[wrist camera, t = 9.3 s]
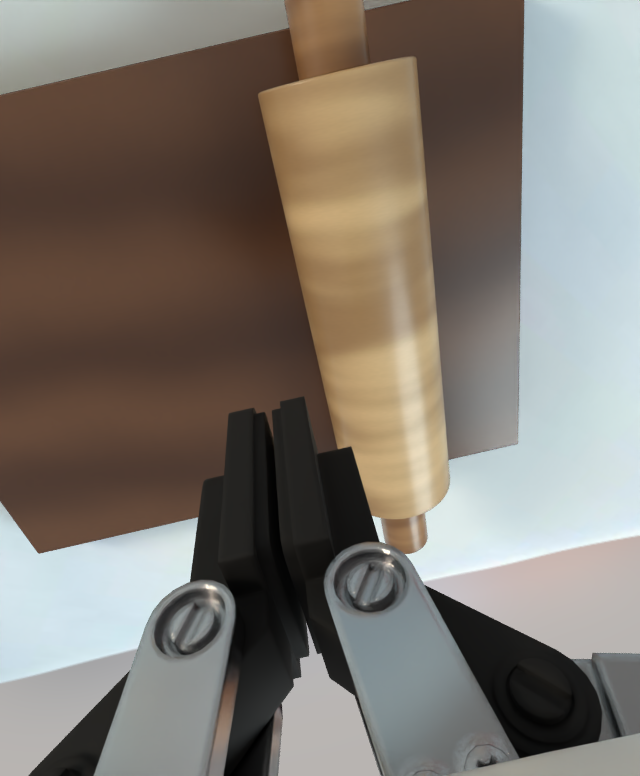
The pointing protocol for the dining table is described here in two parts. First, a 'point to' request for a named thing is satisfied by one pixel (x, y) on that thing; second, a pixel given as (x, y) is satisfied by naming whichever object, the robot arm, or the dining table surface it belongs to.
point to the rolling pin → (364, 255)
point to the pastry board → (225, 266)
